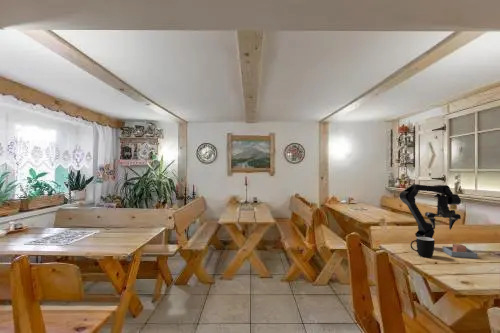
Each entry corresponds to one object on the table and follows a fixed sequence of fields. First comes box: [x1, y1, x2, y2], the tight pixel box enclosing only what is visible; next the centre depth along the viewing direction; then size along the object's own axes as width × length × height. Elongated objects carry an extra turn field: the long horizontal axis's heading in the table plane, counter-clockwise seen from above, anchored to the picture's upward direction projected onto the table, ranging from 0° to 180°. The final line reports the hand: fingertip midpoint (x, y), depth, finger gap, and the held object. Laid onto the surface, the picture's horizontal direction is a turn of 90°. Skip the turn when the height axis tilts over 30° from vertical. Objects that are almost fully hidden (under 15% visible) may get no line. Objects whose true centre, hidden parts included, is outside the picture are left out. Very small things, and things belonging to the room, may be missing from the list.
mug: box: [410, 237, 436, 259], centre depth 172 cm, size 12×9×10 cm
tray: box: [442, 246, 478, 260], centre depth 175 cm, size 13×12×3 cm
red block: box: [452, 243, 467, 252], centre depth 175 cm, size 5×5×5 cm
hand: (442, 229), depth 190 cm, fingers open, 9 cm apart
